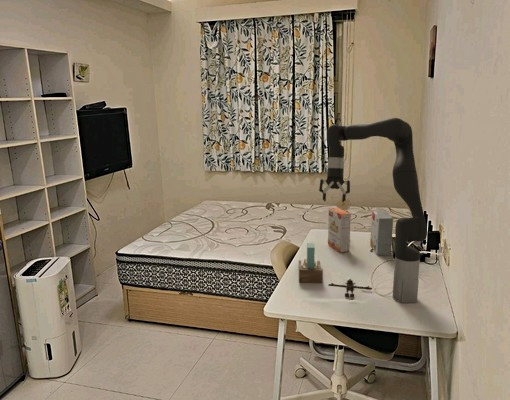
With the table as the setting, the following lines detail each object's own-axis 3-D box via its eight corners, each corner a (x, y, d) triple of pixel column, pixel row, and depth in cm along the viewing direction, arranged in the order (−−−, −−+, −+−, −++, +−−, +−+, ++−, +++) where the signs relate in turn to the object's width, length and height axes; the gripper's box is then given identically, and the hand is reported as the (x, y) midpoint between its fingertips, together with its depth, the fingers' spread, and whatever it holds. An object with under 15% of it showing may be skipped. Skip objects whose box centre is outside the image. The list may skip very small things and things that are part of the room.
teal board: (313, 280, 187) (314, 247, 184) (307, 280, 187) (307, 247, 184) (313, 274, 193) (313, 243, 189) (306, 274, 193) (307, 243, 190)
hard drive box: (369, 245, 234) (371, 210, 229) (383, 245, 233) (385, 210, 229) (376, 255, 218) (378, 218, 214) (391, 255, 218) (394, 218, 214)
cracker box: (327, 244, 236) (328, 207, 231) (337, 243, 237) (338, 207, 233) (339, 253, 223) (340, 214, 218) (349, 251, 224) (351, 213, 220)
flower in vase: (324, 238, 245) (325, 196, 240) (337, 234, 252) (338, 193, 247) (342, 244, 235) (344, 200, 230) (355, 240, 243) (357, 197, 237)
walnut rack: (322, 285, 184) (322, 270, 182) (299, 284, 185) (299, 269, 183) (319, 267, 203) (320, 253, 202) (298, 267, 204) (298, 253, 203)
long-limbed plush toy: (326, 291, 172) (329, 274, 185) (326, 301, 173) (329, 283, 187) (373, 295, 168) (372, 277, 181) (372, 305, 169) (371, 286, 183)
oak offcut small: (315, 266, 195) (315, 262, 195) (305, 267, 195) (305, 262, 195) (313, 262, 200) (313, 258, 200) (304, 262, 200) (304, 258, 200)
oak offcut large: (316, 273, 195) (316, 268, 194) (303, 272, 195) (303, 267, 194) (315, 267, 201) (315, 262, 201) (302, 267, 202) (303, 262, 201)
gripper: (350, 168, 205) (348, 202, 206) (320, 167, 207) (318, 200, 207) (351, 167, 198) (349, 202, 198) (320, 166, 199) (319, 201, 200)
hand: (333, 201), depth 203 cm, fingers open, 8 cm apart
